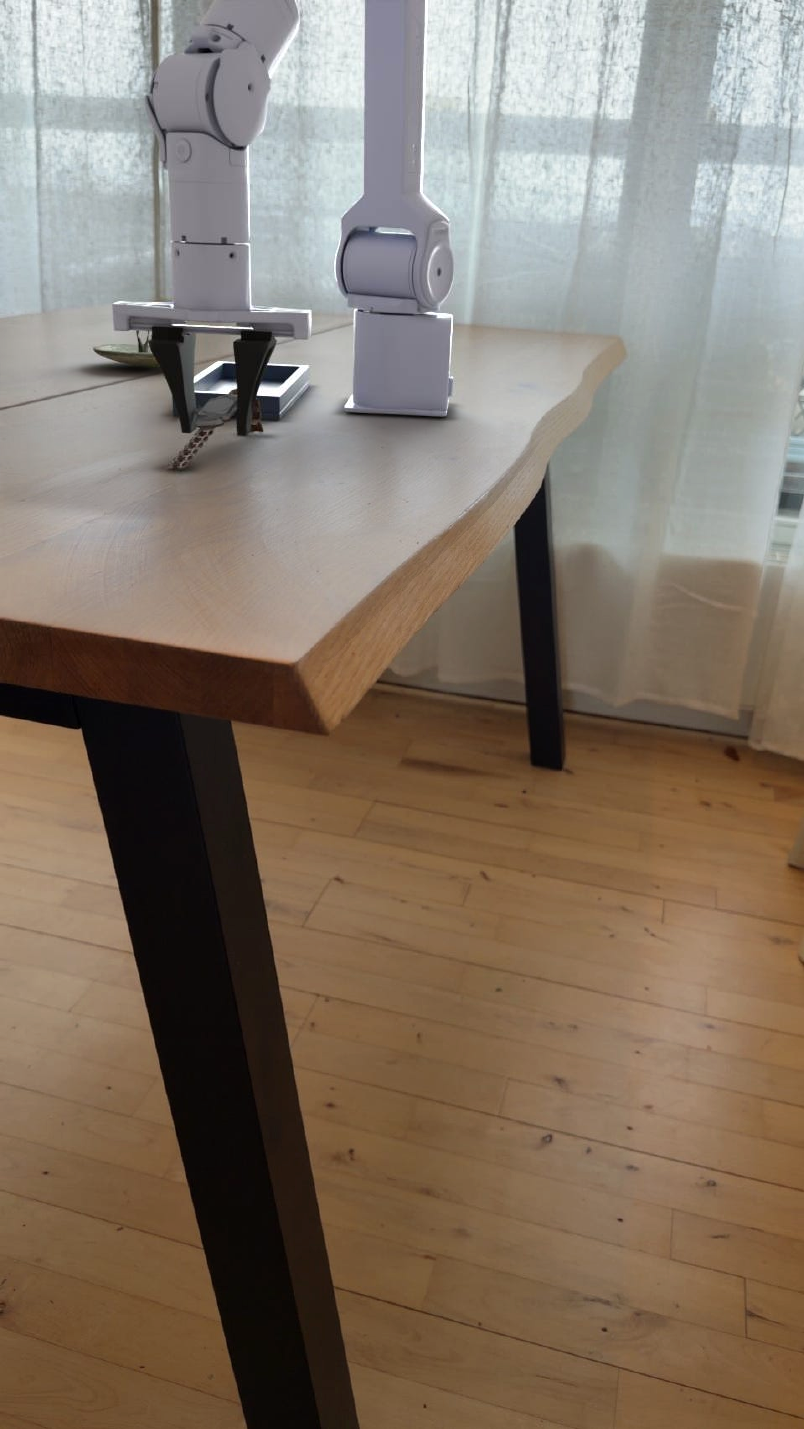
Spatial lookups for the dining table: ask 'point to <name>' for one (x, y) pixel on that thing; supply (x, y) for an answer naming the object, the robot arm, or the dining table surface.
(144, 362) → the lid
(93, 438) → the dining table surface
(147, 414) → the dining table surface
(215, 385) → the holder
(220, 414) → the wristwatch
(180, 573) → the dining table surface
